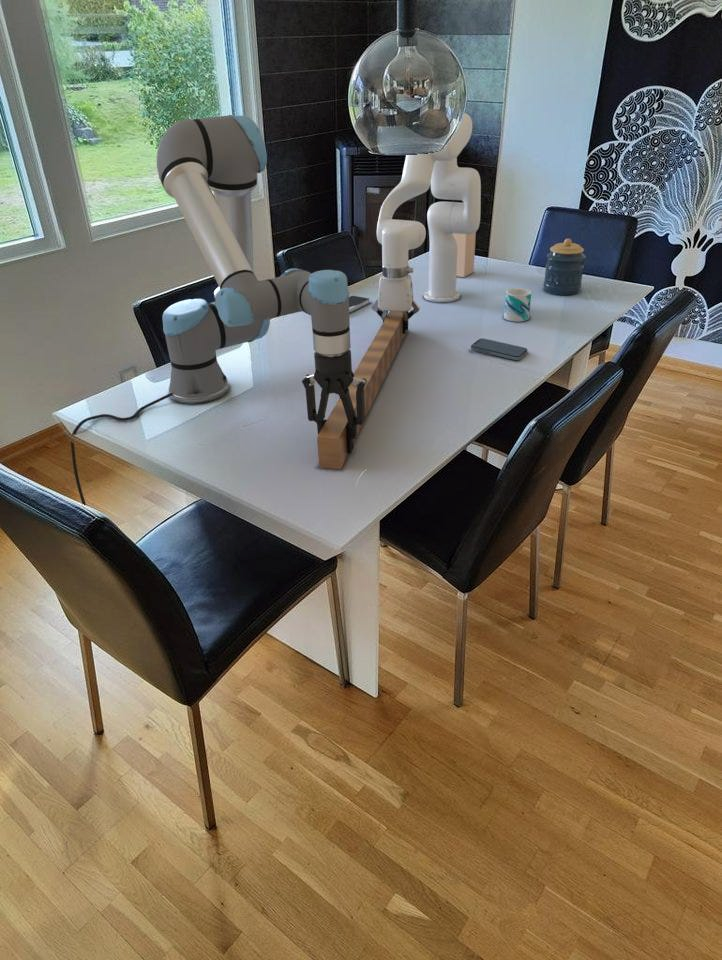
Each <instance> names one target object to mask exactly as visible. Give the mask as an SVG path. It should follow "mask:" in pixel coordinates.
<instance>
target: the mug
mask: <svg viewBox="0 0 722 960" xmlns="http://www.w3.org/2000/svg"><path fill="white" fill-rule="evenodd" d="M504 301H505V302H504V314H503V319H505V320H507V321H510V322H515V323H516V322H518V323H519V322H525V321H529V319H530V311H531V303H532V302H531V301H532V290H530V289H528V288H522V287H515V288H509V289H507V290H505V300H504Z"/></svg>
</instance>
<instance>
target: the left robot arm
mask: <svg viewBox="0 0 722 960" xmlns="http://www.w3.org/2000/svg"><path fill="white" fill-rule="evenodd" d="M267 163H268V154H267V148H266V143H265V140H264V137H263V135H262V132H261V130H260V127H259V126H258V125H257V124H256V122H255V121H254V120H253V119H252V118H251V117H250V116H247V115H232V114H228V115H220V116H212V117H200V118H185V119H181V120H179V121H176V122H175V123H173V124H172V125H170V126H169V128H167V130H166V131H165V132H164V134H163V135H162V137H161V139H160V141H159V143H158V147H157V152H156V171H157V175H158V178H159V182H160V183H161V186H162V188H163V189H164V191H165V193H166V194H167V195H168V196H169V197H171V198H173V199H174V200H175V202H176V204H177V206H178V208H179V210H180V212H181V215H182V216H183V219H184V220H185V222H186V224H187V226H188V228H189V231H190V232H191V234H192V235H193V238H194V240H195V242H196V244H197V246H198V248H199V250H200V251H201V254H202V256H203V258H204V259H205V262H206V263H207V265H208V268H209V270H210V272H211V274H212V276H213V277H214V280H215V282H216V283H217V285H218V287H217V288H216V289H215V290H214V292H213V295H214V296H213V297H214V301H213V302H209V303H208V302H207V300H205V299H203V298H193V299H191V298H188V299H184V300H180V301H177V302H175V303H173V304H171V305H170V306H168V307H167V308H166V309H165V310H164V311H163V313H162V327H163V329H162V330H163V334H164V337H165V342H166V345H167V352H168V356H169V361H170V367H171V369H170V370H171V371H170V377H169V386H168V394H166V395H163V396H161V397H160V398H157V399H155V400H153V401H151V402H149V403H146V404H145V405H143V406H141V407H140V408H138V409H137V410H136V412H135V413H133V415H131V416H127V417H120V416H117V415H112V414H108V413H102V414H96V415H92V416H89V417H86V418H83V419H82V420H81V421H80V422H78V424H77V425H76V426H75V428H74V429H73V431H72V433H71V436H75V435H76V434H77V433H78V430H79V429H80V428H81V427H82V426H83V425H84V424H85V423H86V422H88V421H93V420H96V419H100V418H101V419H102V418H110V419H113V420H117V421H122V422H123V421H124V422H125V421H126V422H127V421H130V420H133V419H135V418H137V416H139V414H140V413H141V412H142V411H144V410H145V409H147V408H149V407H151V406H154V405H156V404H157V403H160V402H161V401H163V400H166V399H168V398H171V400H173V401H175V402H177V403H180V404H188V405H189V404H190V405H196V404H197V405H198V404H204V403H208V402H212V401H214V400H217V399H219V398H221V397H223V396H224V395H225V394H227V392H228V391H229V383H228V382H229V380H228V377H227V375H225V373H224V372H223V370H222V368H221V366H220V363H219V362H218V358H217V352H216V351H218V350H221V349H226V348H229V347H233V346H237V345H241V344H245V343H252V342H254V341H256V340H260V339H262V338H263V337H265V336H266V335H267V333H268V331H269V330H270V329H269V328H270V325H271V319H274V318H279V317H280V318H281V317H283V316H288V315H293V314H296V313H300V312H302V313H305V314H307V315H309V316H310V319H311V328H312V329H311V331H312V342H313V343H312V344H313V350H314V353H313V357H314V370H315V371H314V373H313V374H306V375H304V377H303V379H302V380H301V383H302V384H303V387H304V389H305V398H306V401H305V402H306V411H307V420H308V421H309V422H315V423H316V428H317V429H316V430H317V435H318V434H319V433H320V431H321V429H322V427H323V426H324V424H325V422H326V421H327V419H326V413H327V409H328V408H327V406H328V402H329V397H330V395H331V394H335V395H338V398H340V399H341V400H342V404H343V407H344V410H345V413H346V416H347V420H348V424H347V426H346V439H347V453H348V455H350V454H352V452H353V449H354V443H353V439H355V440H356V438H357V436H358V434H357V425H362V426H363V424H364V421H365V420H364V419H366V418H365V400H364V387H365V384H366V382H367V380H366V379H365V378H362V379H359V378H357V377H354V372H353V368H352V367H353V366H352V351H351V350H350V349H351V347H352V346H351V328H350V326H351V325H350V324H351V323H350V322H351V321H350V313H349V297H350V291H349V286H348V285H349V284H348V278H347V275H346V273H344V272H342V271H341V270H334V269H322V270H317V271H314V272H312V273H311V272H310V271H308V270H304V269H300V268H297V267H294V268H293V267H292V268H288V269H286V270H285V271H283V273H281V275H280V276H277V277H273V278H267V279H261V280H258V278H257V276H256V274H255V272H254V271H255V269H254V247H253V243H254V242H253V220H252V219H253V218H252V217H253V215H252V214H253V213H252V191H253V190H254V189H255V188H256V187H257V185H258V174H261V173H262V172H264V171H265V169H266V167H267V165H268V164H267ZM315 383H317V384H318V386H319V387H320V388H321V391H320V399H319V404H318V409H317V403H316V390H315V389H316V388H315ZM351 383H354V387H355V389H357V390H356V408H357V417H356V414H355V411H354V407H353V404H352V401H351V398H350V394H349V388H348V387H349V386H350V384H351ZM70 450H71V451H70V452H71V460H72V461H71V462H72V467H73V473H74V478H75V483H76V486H77V490H78V494H79V497H80V500H81V504H82V505H83V504H84V505H86V506H87V503H86V500H85V497H84V494H83V490H82V486H81V482H80V476H79V473H78V472H79V471H78V469H77V468H78V467H77V460H76V459H77V458H76V451H75V450H76V449H75V443H74V442H72V441H70Z"/></svg>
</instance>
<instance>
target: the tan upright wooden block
mask: <svg viewBox="0 0 722 960" xmlns="http://www.w3.org/2000/svg"><path fill="white" fill-rule="evenodd" d="M452 235H453V236H454V238H455V240H456V242H457V247H458V250H457V272H456V277H460V278H465V277H467V276H469V275H471V274H472V273H474V272H475V271H474V270H475V255H476V254H475V253H476V236H477V231H476V232H475V233H473V234H457V233H452Z"/></svg>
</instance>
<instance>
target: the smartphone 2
mask: <svg viewBox="0 0 722 960" xmlns="http://www.w3.org/2000/svg"><path fill="white" fill-rule="evenodd" d="M470 350H472V351H475V352H478V353H482V354H483V353H484V354H488V355H491V356H495V357H500V358H504V359H509V360H513V361H519V360H520V359H522V358H523V357H524V356H525V355H526V354H528V348H527V347H524V346H519V345H515V344H511V343H506V342H501V341H497V340H493V339H488V338H484V337H483V338H481V337H480V338H478V339H477V340H476V341H474V342H473V343H472V344H471V345H470Z"/></svg>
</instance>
